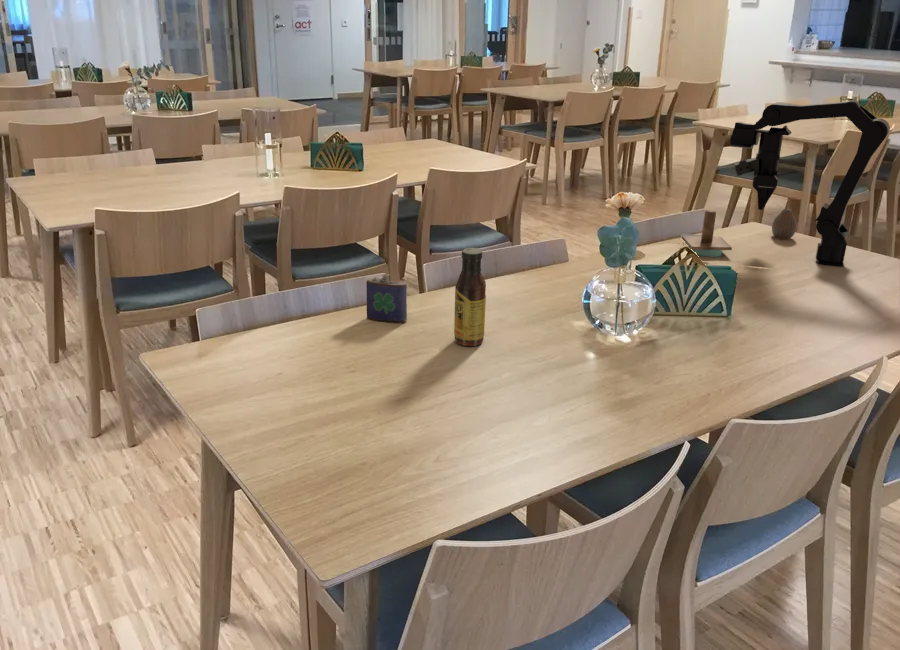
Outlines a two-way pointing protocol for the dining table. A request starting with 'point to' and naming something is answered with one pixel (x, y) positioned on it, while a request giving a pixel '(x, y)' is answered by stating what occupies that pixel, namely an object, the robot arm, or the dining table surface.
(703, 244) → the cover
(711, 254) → the dish
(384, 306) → the flask
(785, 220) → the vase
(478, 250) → the sauce bottle
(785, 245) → the dining table surface
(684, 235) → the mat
